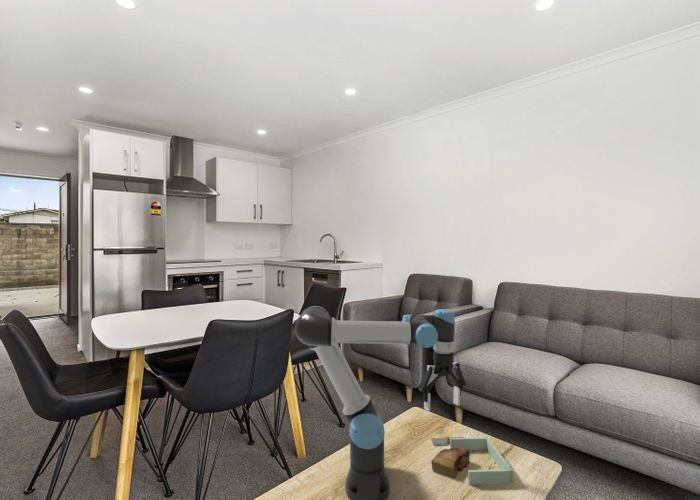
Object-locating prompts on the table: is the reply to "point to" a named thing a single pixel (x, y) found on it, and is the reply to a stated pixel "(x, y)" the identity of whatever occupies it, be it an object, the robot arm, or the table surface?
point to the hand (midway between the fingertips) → (441, 407)
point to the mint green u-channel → (482, 443)
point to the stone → (451, 461)
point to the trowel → (442, 440)
